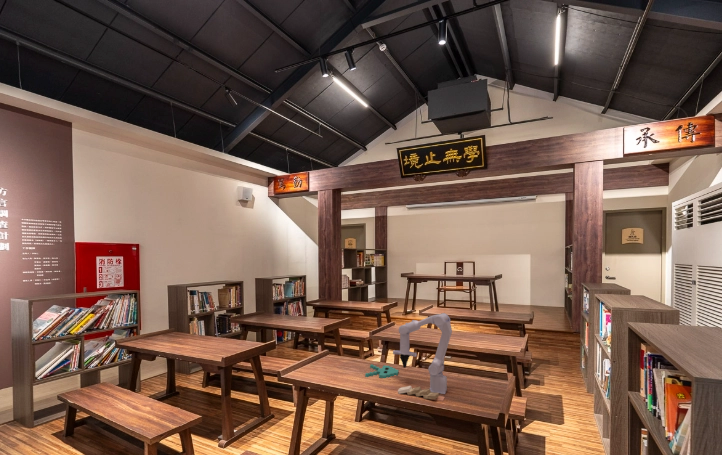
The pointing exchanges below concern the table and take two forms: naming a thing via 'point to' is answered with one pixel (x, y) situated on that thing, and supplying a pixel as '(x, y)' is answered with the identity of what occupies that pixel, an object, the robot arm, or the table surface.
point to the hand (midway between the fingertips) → (404, 367)
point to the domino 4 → (439, 398)
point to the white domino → (404, 389)
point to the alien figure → (383, 371)
